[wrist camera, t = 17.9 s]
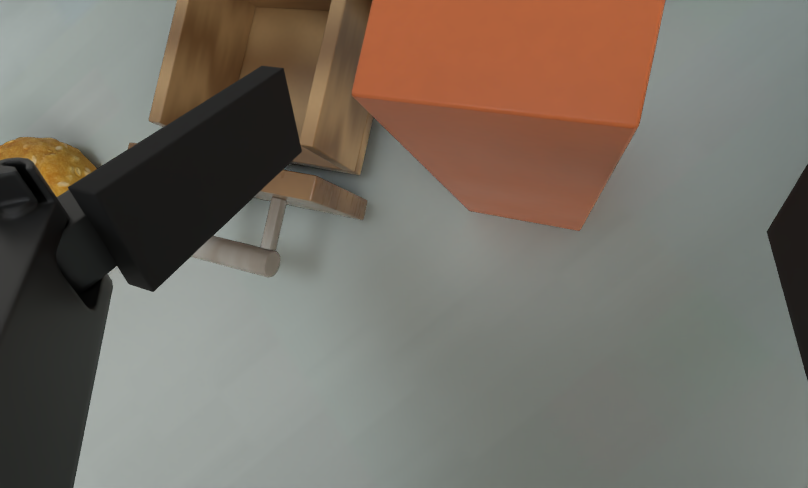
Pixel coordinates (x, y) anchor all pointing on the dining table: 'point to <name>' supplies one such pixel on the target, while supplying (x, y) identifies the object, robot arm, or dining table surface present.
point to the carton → (511, 95)
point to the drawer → (308, 87)
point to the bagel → (50, 160)
